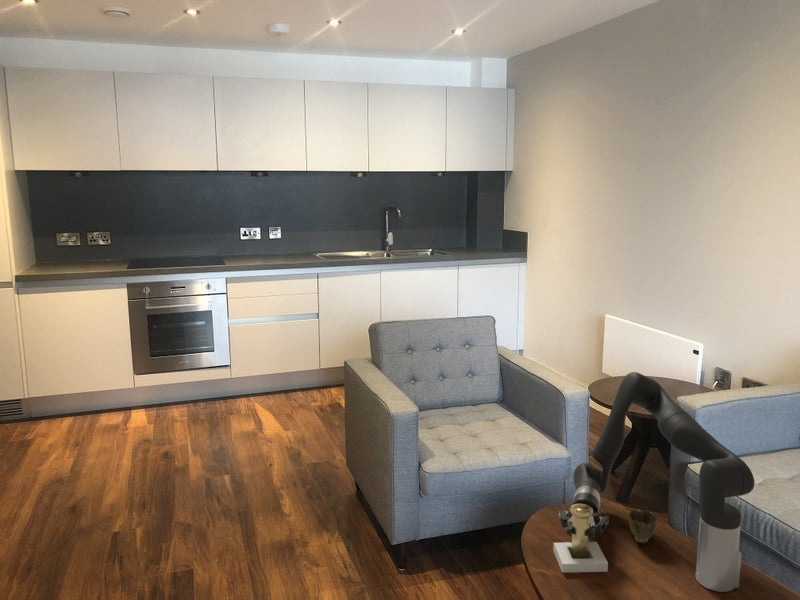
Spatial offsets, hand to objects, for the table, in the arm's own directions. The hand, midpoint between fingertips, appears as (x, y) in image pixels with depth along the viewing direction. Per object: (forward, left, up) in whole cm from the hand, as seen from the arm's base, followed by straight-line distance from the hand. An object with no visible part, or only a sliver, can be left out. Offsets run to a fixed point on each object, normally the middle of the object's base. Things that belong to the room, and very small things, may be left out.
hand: (579, 534), depth 175 cm
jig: (-1, -3, -9) cm, 10 cm away
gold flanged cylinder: (-1, -3, -8) cm, 8 cm away
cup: (-21, -12, -10) cm, 26 cm away
